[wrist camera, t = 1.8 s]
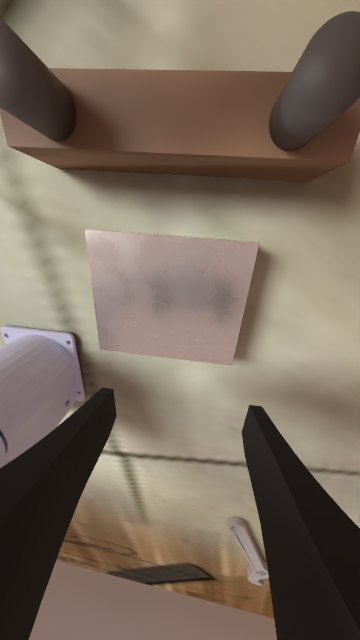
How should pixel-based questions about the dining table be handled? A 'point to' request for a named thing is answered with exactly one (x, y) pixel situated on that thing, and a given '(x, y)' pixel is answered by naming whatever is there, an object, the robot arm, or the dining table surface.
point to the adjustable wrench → (249, 551)
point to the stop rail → (189, 113)
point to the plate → (170, 293)
